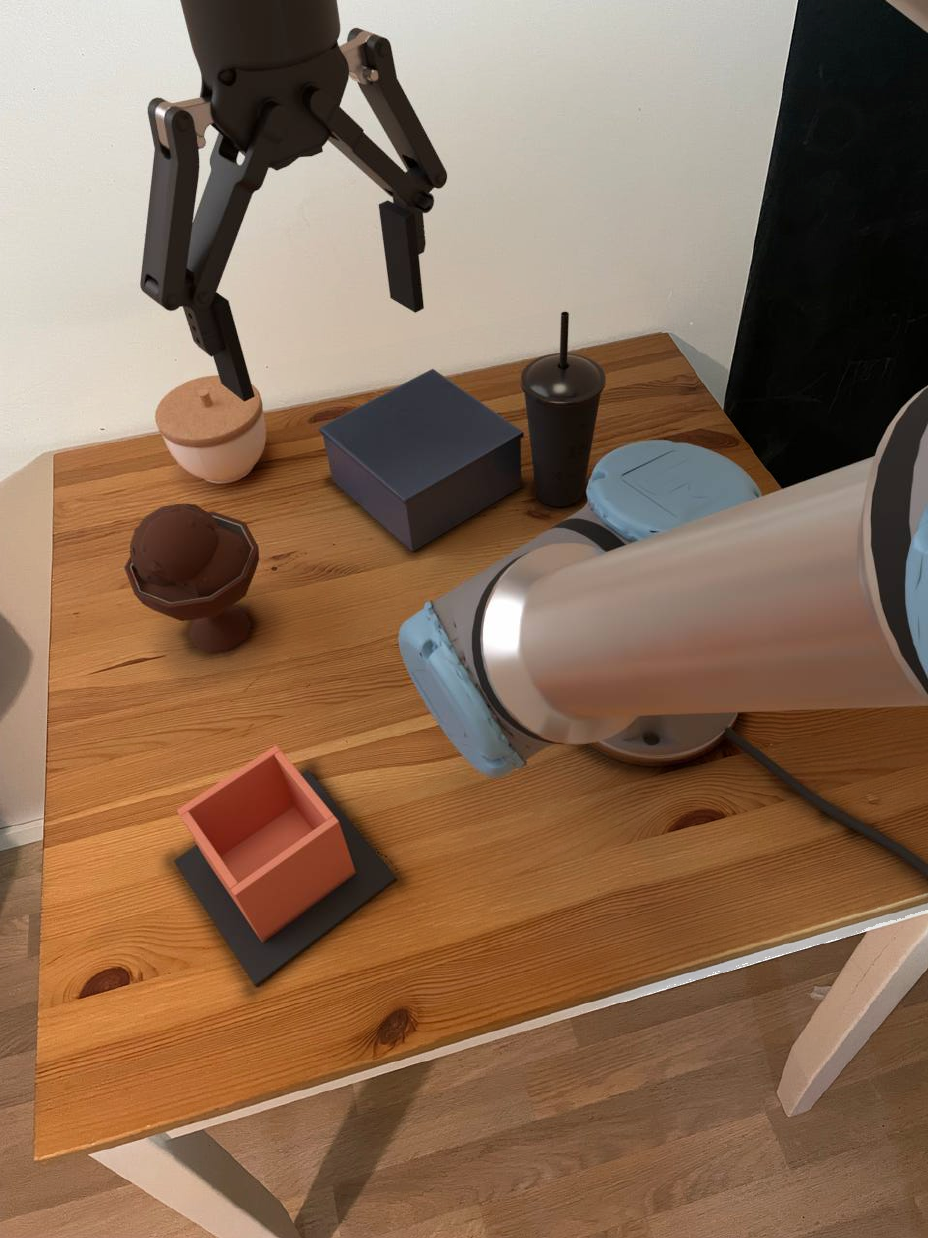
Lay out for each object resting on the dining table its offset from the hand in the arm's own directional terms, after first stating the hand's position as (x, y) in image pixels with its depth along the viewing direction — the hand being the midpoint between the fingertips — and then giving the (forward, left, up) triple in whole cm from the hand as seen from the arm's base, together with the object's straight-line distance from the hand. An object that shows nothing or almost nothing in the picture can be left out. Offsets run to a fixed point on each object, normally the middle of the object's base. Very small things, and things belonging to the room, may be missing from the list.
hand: (326, 345), depth 60 cm
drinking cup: (+3, -24, -29) cm, 38 cm away
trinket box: (+30, -1, -30) cm, 43 cm away
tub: (-13, +19, -29) cm, 37 cm away
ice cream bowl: (+10, +11, -30) cm, 33 cm away
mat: (-14, +19, -30) cm, 38 cm away
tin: (+13, -15, -30) cm, 36 cm away
